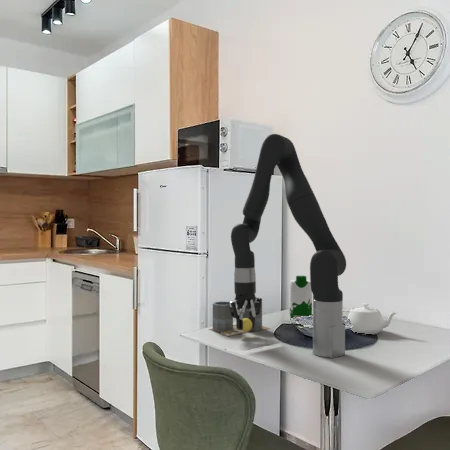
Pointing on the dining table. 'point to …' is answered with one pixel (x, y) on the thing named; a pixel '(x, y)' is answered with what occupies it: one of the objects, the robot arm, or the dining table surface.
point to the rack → (225, 321)
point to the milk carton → (300, 297)
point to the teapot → (367, 319)
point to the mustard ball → (246, 324)
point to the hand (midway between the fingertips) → (245, 328)
